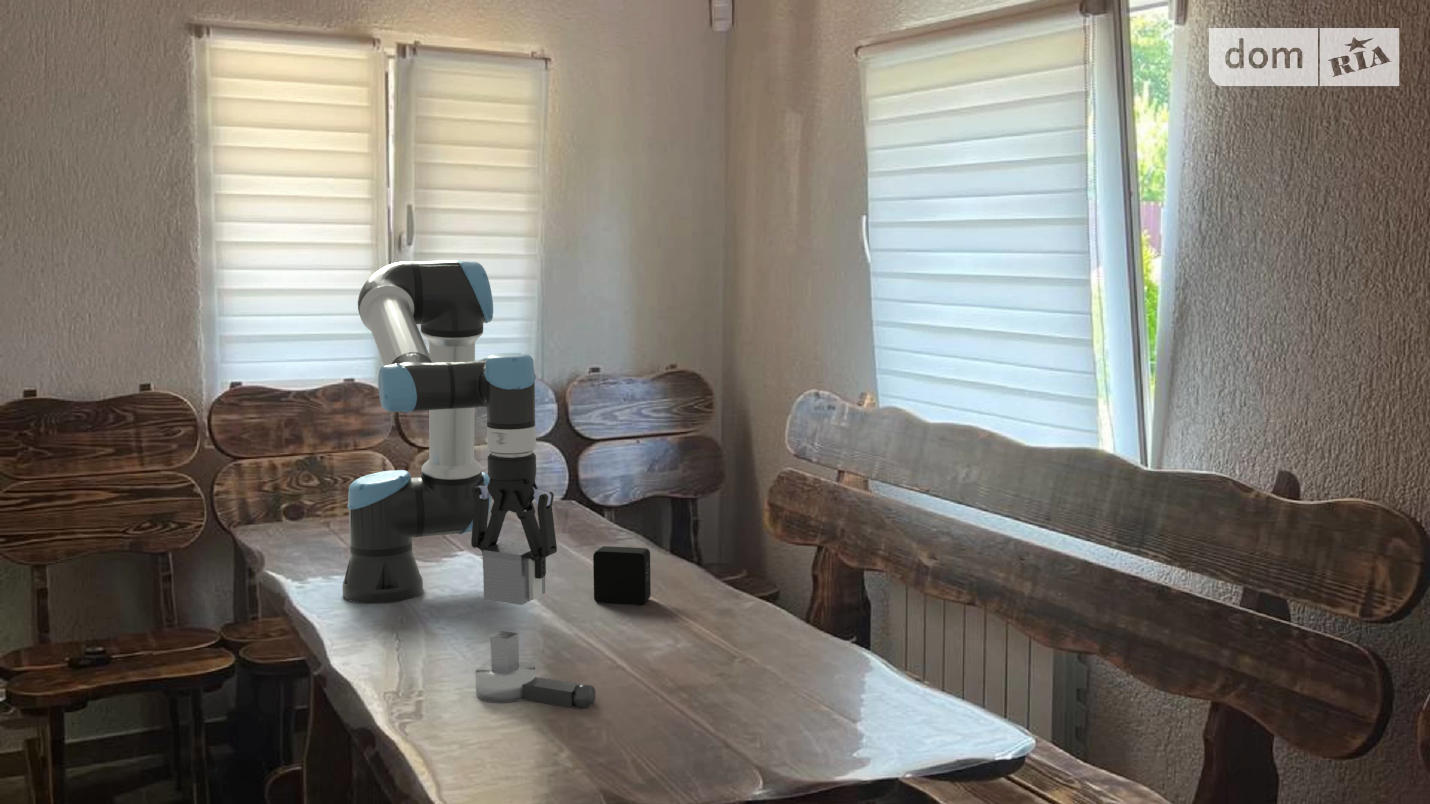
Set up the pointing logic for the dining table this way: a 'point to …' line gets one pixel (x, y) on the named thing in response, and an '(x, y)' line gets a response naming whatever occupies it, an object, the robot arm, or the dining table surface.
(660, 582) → the dining table surface
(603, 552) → the electronic device
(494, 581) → the dark grey cube
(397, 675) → the dining table surface
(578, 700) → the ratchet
